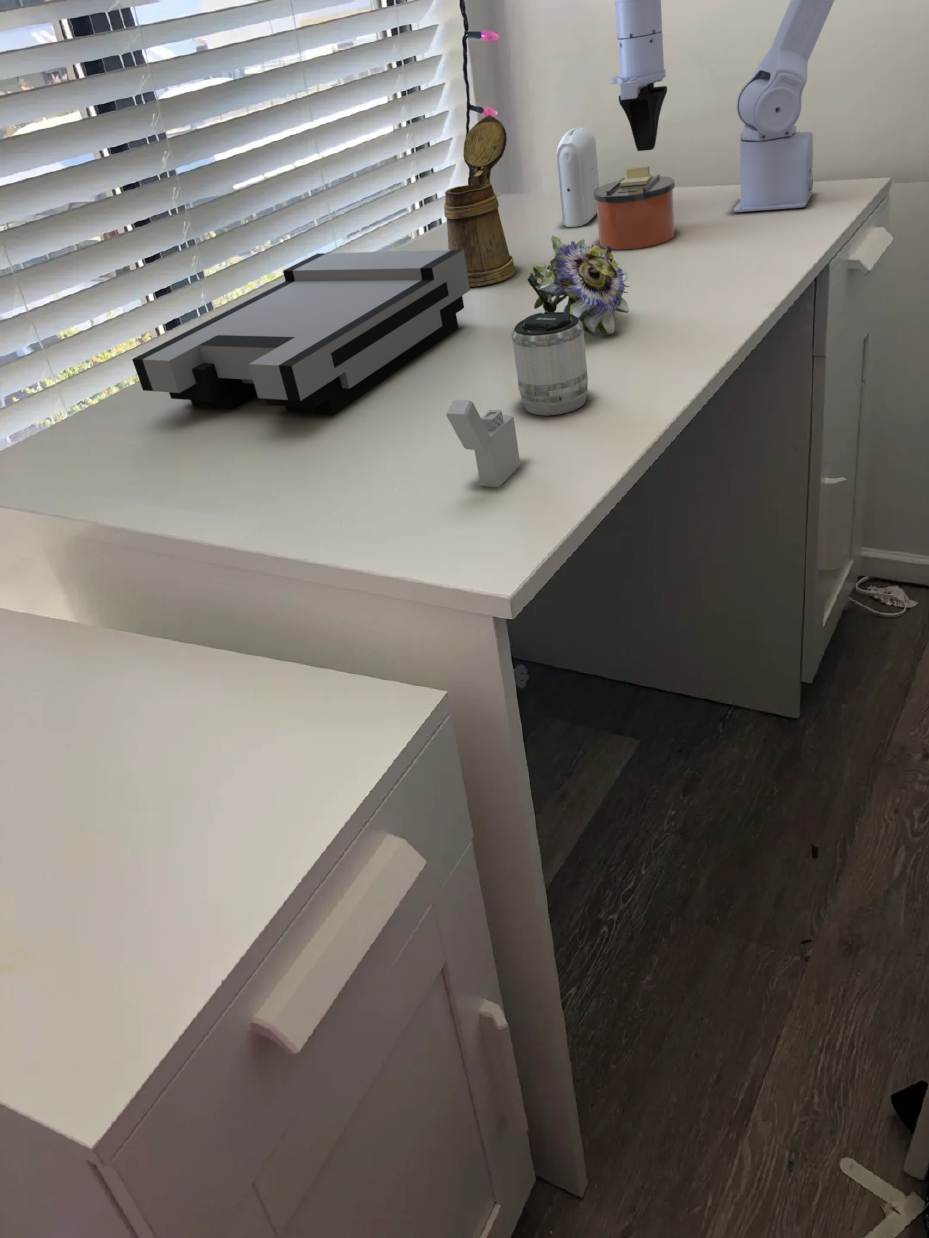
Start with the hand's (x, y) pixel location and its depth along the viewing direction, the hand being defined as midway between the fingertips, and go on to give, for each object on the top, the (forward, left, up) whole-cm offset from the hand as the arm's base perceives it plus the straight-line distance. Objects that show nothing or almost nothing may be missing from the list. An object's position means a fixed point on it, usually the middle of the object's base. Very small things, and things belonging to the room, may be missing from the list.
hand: (646, 149), depth 136 cm
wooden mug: (+17, +19, -10) cm, 28 cm away
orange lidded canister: (0, +7, -10) cm, 12 cm away
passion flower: (-3, +43, -10) cm, 45 cm away
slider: (0, +6, -3) cm, 7 cm away
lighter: (-7, +79, -10) cm, 80 cm away
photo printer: (+12, -7, -10) cm, 17 cm away
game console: (+23, +54, -10) cm, 60 cm away
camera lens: (-7, +63, -10) cm, 65 cm away
